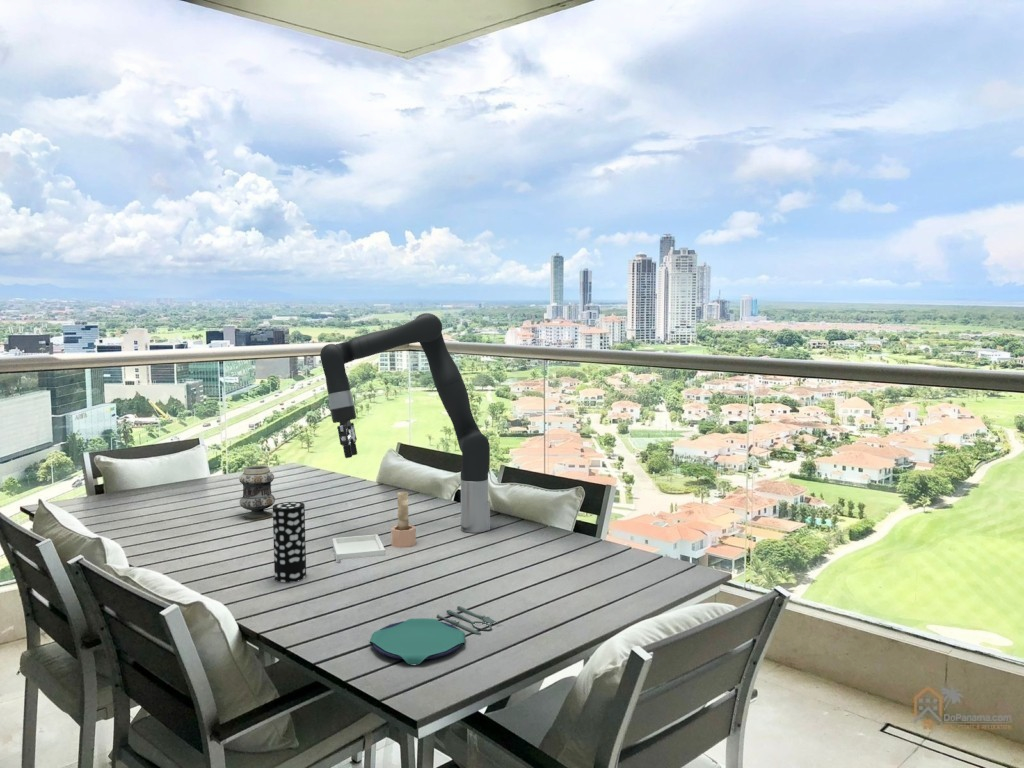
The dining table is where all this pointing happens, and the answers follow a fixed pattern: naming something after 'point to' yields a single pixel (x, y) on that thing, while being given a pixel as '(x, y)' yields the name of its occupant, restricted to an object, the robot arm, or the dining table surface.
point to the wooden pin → (403, 511)
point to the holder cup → (403, 537)
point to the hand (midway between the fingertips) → (351, 456)
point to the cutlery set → (424, 637)
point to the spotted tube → (289, 541)
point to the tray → (357, 547)
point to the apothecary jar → (257, 492)
